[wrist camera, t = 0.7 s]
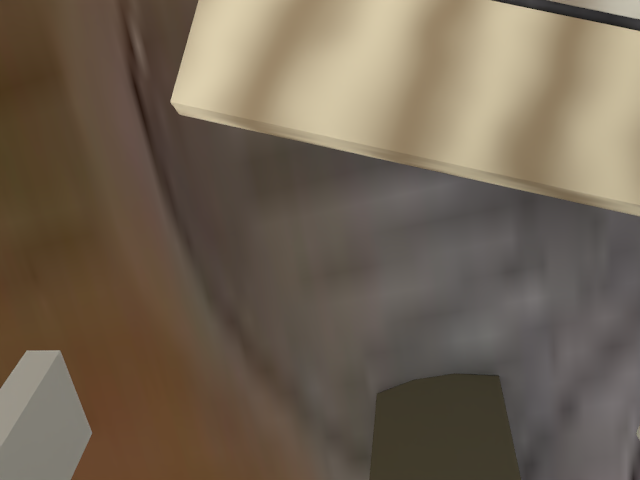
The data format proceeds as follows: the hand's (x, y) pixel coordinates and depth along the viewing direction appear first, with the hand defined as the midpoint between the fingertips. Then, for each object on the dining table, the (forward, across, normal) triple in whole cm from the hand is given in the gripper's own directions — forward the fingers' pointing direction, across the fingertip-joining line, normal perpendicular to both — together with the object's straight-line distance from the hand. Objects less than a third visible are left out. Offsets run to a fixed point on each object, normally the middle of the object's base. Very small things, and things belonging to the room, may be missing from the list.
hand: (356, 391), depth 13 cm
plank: (+21, -5, 0) cm, 22 cm away
